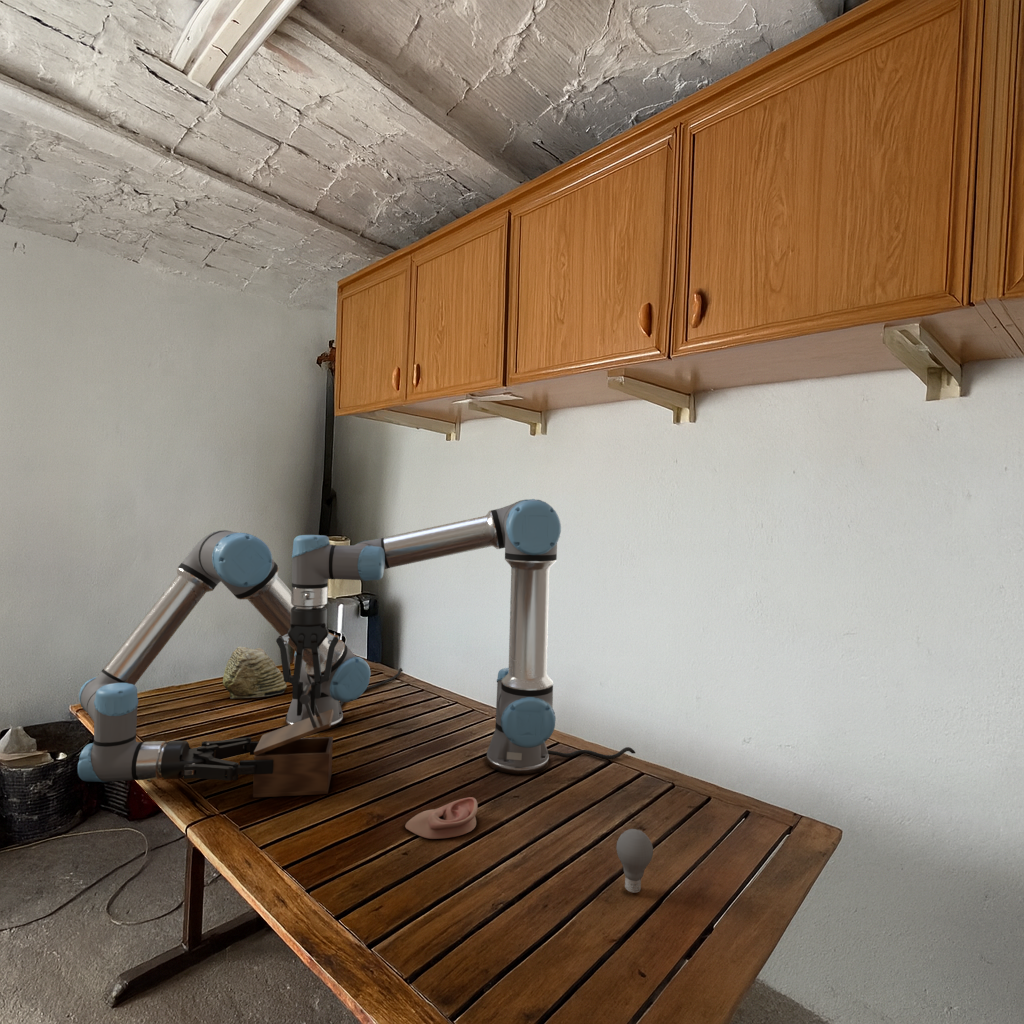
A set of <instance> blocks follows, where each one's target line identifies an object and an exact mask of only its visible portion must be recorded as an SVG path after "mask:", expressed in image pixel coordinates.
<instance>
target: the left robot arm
mask: <svg viewBox="0 0 1024 1024" xmlns="http://www.w3.org/2000/svg"><path fill="white" fill-rule="evenodd" d="M279 569H280V567H279V565H278V564H277V563H276V562H275V561H274V559H273V554H272V551H271V548H270V547H269V545H267V544H266V542H264V541H263V540H262V539H261V538H259V537H258V536H256V535H253V534H250V533H248V532H247V533H246V532H237V531H232V530H227V529H224V530H216V531H213V532H210V533H208V534H206V535H205V536H204V537H202V538H201V539H200V540H199V541H198V542H197V543H196V544H195V545H194V547H192V549H191V550H190V551H189V553H188V554H187V555H186V557H185V558H184V559H183V560H182V561H181V563H180V564H179V565H178V566H177V568H176V573H177V574H176V577H174V579H173V580H172V581H171V582H170V584H169V585H168V587H167V588H165V590H164V591H163V593H162V594H161V595H160V596H159V598H158V599H157V601H155V603H154V604H153V605H152V607H151V608H150V609H149V610H148V612H147V613H146V615H144V616H143V618H142V619H141V621H140V622H139V623H138V624H137V626H136V627H134V629H133V630H132V632H131V633H130V635H129V636H128V637H127V638H126V640H125V641H124V642H123V643H122V645H121V646H120V647H119V648H118V649H117V651H116V652H115V653H114V655H113V656H112V657H111V659H110V660H109V661H108V662H107V663H106V664H105V666H104V667H103V668H102V669H101V670H100V672H99V673H98V674H97V676H94V677H91V678H90V679H88V680H87V681H86V682H84V683H83V684H82V686H81V687H80V689H79V691H78V700H79V703H80V706H81V708H82V710H84V712H86V713H87V714H88V716H89V717H90V718H91V720H92V721H93V742H92V743H88V744H86V745H85V746H84V747H83V749H81V752H80V755H79V757H78V759H79V760H78V763H77V775H78V777H79V779H80V780H81V781H84V782H90V783H91V782H92V783H93V782H94V783H95V782H97V783H110V782H127V781H146V782H152V781H154V780H161V779H163V780H181V779H184V780H190V779H201V780H214V781H215V780H216V781H227V782H230V781H238V780H239V776H247V775H251V776H252V775H254V774H272V773H273V759H272V760H254V759H246V760H240V761H239V762H236V761H231V760H226V758H231V757H236V756H237V757H238V756H241V755H245V754H249V755H250V756H255V754H254V751H255V749H256V747H257V745H258V743H259V741H260V740H259V741H258V740H257V741H254V740H253V741H252V737H251V736H247V737H239V738H231V739H230V738H229V739H223V740H213V741H207V740H205V741H201V746H198V747H193V748H192V747H190V743H189V741H187V740H170V741H169V742H167V741H166V740H156V741H154V740H153V741H137V726H138V725H137V724H138V706H139V696H138V687H137V685H136V684H137V683H138V681H139V680H140V678H142V676H144V674H145V672H146V671H147V670H148V668H149V667H150V665H151V664H152V663H153V662H154V660H155V659H156V658H157V657H158V655H160V653H161V652H162V650H163V649H164V647H165V646H166V645H167V644H168V642H169V641H170V640H171V639H172V637H173V636H174V634H175V633H176V632H177V631H178V629H180V627H181V625H182V624H183V623H184V622H185V620H186V619H187V618H188V617H189V615H190V614H191V613H192V611H194V609H195V608H196V606H197V605H198V604H199V602H200V601H201V599H202V598H203V597H204V596H205V594H206V593H209V592H213V591H214V590H215V589H216V588H217V586H218V585H219V584H220V583H221V584H223V585H224V586H225V587H226V588H227V590H229V592H230V593H231V594H232V595H233V596H234V597H235V598H236V599H237V600H247V601H248V603H250V604H251V606H253V607H254V608H255V610H256V611H258V613H259V614H260V615H261V616H262V617H263V618H264V620H266V621H267V622H268V624H269V625H270V626H271V627H272V628H273V629H274V630H275V631H276V632H277V633H278V635H279V636H283V635H285V634H287V633H288V630H289V629H290V625H291V608H292V607H294V606H293V605H292V604H291V592H292V589H290V588H289V587H288V586H287V584H286V583H285V582H284V581H283V579H281V578H280V576H279ZM287 645H289V646H290V648H292V650H294V655H293V657H294V661H295V660H296V651H297V647H296V646H295V644H294V643H293V641H292V640H291V639H290V638H289V642H288V644H287ZM329 646H330V644H328V638H327V637H326V638H325V640H324V641H323V642H322V643H321V645H320V646H319V653H320V665H321V676H322V675H324V672H325V666H326V660H327V655H328V649H329ZM368 663H369V662H367V661H366V660H365V659H364V658H362V657H360V656H357V655H356V654H354V652H353V651H352V650H351V649H350V647H348V645H347V644H346V643H345V642H344V641H343V640H342V639H340V638H339V640H338V643H337V644H336V646H335V650H334V656H333V662H332V667H331V673H330V678H329V680H328V681H325V682H323V683H321V696H320V698H319V699H316V706H317V708H318V711H319V714H320V713H323V712H326V711H328V710H331V709H333V711H334V714H333V718H332V722H331V726H330V728H327V729H325V730H322V731H321V732H325V731H329V730H332V729H335V728H337V727H339V726H340V725H342V723H343V722H344V713H343V709H342V706H343V705H344V703H350V702H353V701H355V700H357V699H359V698H360V697H361V696H362V695H363V694H364V693H365V691H368V690H371V689H374V688H377V687H379V686H383V685H384V684H387V683H389V682H392V681H393V680H395V679H396V678H398V677H399V676H400V675H401V673H402V672H403V668H402V667H400V668H399V669H398V672H397V674H395V675H393V676H392V677H390V678H387V679H385V680H383V681H381V682H377V683H375V684H372V685H369V684H370V681H371V680H370V679H371V676H372V674H371V673H372V672H371V668H370V665H369V664H368ZM299 682H303V690H304V688H305V686H306V685H308V684H310V685H312V682H315V680H314V668H313V655H312V649H304V652H303V659H302V666H301V674H300V680H299ZM309 705H310V708H311V700H310V701H309ZM315 715H316V714H314V715H313V716H315ZM307 718H310V717H309V715H308V712H307V709H306V706H305V704H302V713H301V716H297V699H293V698H292V699H291V702H290V704H289V708H288V711H287V713H286V714H285V726H288V725H291V724H293V723H296V722H299V721H302V720H304V719H307Z"/></svg>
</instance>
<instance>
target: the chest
mask: <svg viewBox="0 0 1024 1024" xmlns="http://www.w3.org/2000/svg"><path fill="white" fill-rule="evenodd" d="M333 740H334V737H333V736H315V737H303V738H301V739H298V740H296V741H293V742H290V743H288V744H285V745H282V746H280V747H277V748H274V749H272V750H269V751H266V752H264V753H261V754H258V755H256V756H255V755H253V760H272V759H273V773H272V774H253V779H252V799H253V798H271V797H272V798H274V797H275V798H276V797H277V798H278V797H293V796H294V797H295V796H317V795H318V796H319V795H328V794H329V790H330V784H331V780H332V769H333V745H334V742H333Z"/></svg>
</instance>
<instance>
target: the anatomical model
mask: <svg viewBox="0 0 1024 1024" xmlns="http://www.w3.org/2000/svg"><path fill="white" fill-rule="evenodd" d="M478 805H479V804H478V801H477V799H476V798H475V797H471V796H469V797H464V798H460V799H457V800H454V801H452V802H449V803H446V804H444V805H442V806H440V807H437V808H435V809H427V810H424V811H421V812H419V813H417V814H416V815H413V816H412V817H411V818H410V819H409V820H408V821H407V822H406V823H405V825H404V827H405V829H406V830H408V831H409V832H411V833H413V834H415V835H416V836H418V837H422V838H424V839H427V840H428V839H430V840H437V839H438V840H439V839H449V838H455V837H459V836H463V835H466V834H468V833H470V832H472V831H473V830H474V829H475V828H476V826H477V818H476V815H477V813H478V807H479V806H478Z"/></svg>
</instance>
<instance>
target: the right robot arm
mask: <svg viewBox="0 0 1024 1024" xmlns="http://www.w3.org/2000/svg"><path fill="white" fill-rule="evenodd" d="M561 532H562V524H561V520H560V517H559V515H558V513H557V511H556V510H555V509H554V508H553V506H551V505H550V504H549V503H548V502H546V501H543V500H541V499H535V498H532V499H522V500H518V501H516V502H514V503H510V504H509V505H505V506H502V507H500V508H497V509H491V510H489V511H488V512H487V514H486V515H483V516H477V517H473V518H469V519H463V520H460V521H455V522H451V523H450V522H449V523H445V524H441V525H436V526H431V527H427V528H426V527H425V528H422V529H417V530H412V531H408V532H403V533H397V534H393V535H389V536H384V537H380V538H375V539H366V540H362V541H359V542H357V543H356V544H354V545H349V544H348V545H346V544H345V545H337V544H331V542H330V538H329V536H327V535H322V534H321V535H320V534H300V535H297V536H295V538H293V543H292V555H291V604H292V605H293V606H294V607H292V608H291V625H290V629H289V630H288V633H287V634H285V635H283V636H281V635H278V637H277V638H276V639H275V642H276V644H277V646H278V648H279V652H280V660H281V667H282V668H281V669H282V675H283V678H284V682H286V683H288V684H291V685H292V692H291V693H292V694H291V695H292V699H297V716H301V713H302V703H301V702H300V697H301V695H302V692H303V682H299V680H300V674H301V666H302V659H303V652H304V649H312V655H313V668H314V680H315V682H312V685H311V711H312V714H313V715H314V714H315V707H316V699H319V698H320V696H321V683H323V682H325V681H328V680H329V678H330V673H331V667H332V662H333V656H334V650H335V646H336V644H337V643H338V640H339V639H340V636H339V634H333V633H331V632H330V630H329V628H328V625H327V623H328V621H327V620H328V608H327V606H326V605H327V604H328V594H329V593H328V590H329V582H328V581H329V580H345V581H346V580H347V581H364V582H369V581H380V580H382V579H383V577H384V572H385V570H388V569H391V568H397V567H401V566H406V565H410V564H415V563H420V562H425V561H429V560H435V559H438V558H439V559H440V558H444V557H450V556H453V555H458V554H463V553H467V552H472V551H477V550H481V549H486V548H492V547H493V548H495V549H496V550H501V549H504V561H505V562H506V563H507V564H508V565H509V566H510V598H509V600H510V601H509V603H510V604H509V635H508V636H509V637H508V638H509V639H508V640H509V641H508V642H509V643H508V667H503V668H501V669H499V670H498V672H497V679H496V702H495V703H496V707H495V726H494V727H495V728H494V732H493V735H492V738H491V740H490V743H489V744H488V745H489V746H488V748H487V751H486V764H487V765H488V766H489V767H490V768H492V769H494V770H495V771H498V772H500V773H505V774H510V775H529V774H530V775H531V774H536V773H540V772H542V771H544V770H546V769H547V767H548V766H549V759H550V757H549V756H556V757H561V758H573V757H575V756H579V755H590V756H593V757H597V758H599V759H603V760H614V759H618V758H619V757H621V756H622V755H624V754H625V753H627V752H629V753H631V754H636V751H635V749H633V748H631V747H629V746H626V747H623V748H622V749H621V750H619V751H618V752H616V753H614V754H611V755H610V754H603V753H599V752H597V751H593V750H589V749H578V750H577V749H576V750H574V751H572V752H567V753H565V752H561V751H556V750H549V749H548V748H547V744H546V742H547V741H548V740H549V739H550V738H551V736H552V735H553V734H554V731H555V728H556V719H557V718H556V714H555V713H556V712H555V710H554V708H553V706H554V703H553V701H554V681H553V679H552V678H551V677H550V676H549V675H548V673H547V671H548V643H549V641H548V640H549V638H548V635H549V606H550V605H549V604H550V571H551V570H550V569H551V567H552V566H553V565H555V563H557V559H558V556H557V555H558V542H559V540H560V537H561ZM326 637H327V638H328V644H330V646H329V649H328V655H327V660H326V666H325V672H324V675H322V676H321V665H320V653H319V646H320V645H321V643H322V642H323V641H324V640H325V638H326ZM289 638H290V639H291V640H292V641H293V643H294V644H295V646H296V647H297V651H296V660H295V659H294V669H293V675H292V670H291V662H290V654H289V646H288V645H289V644H288V642H289Z"/></svg>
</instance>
